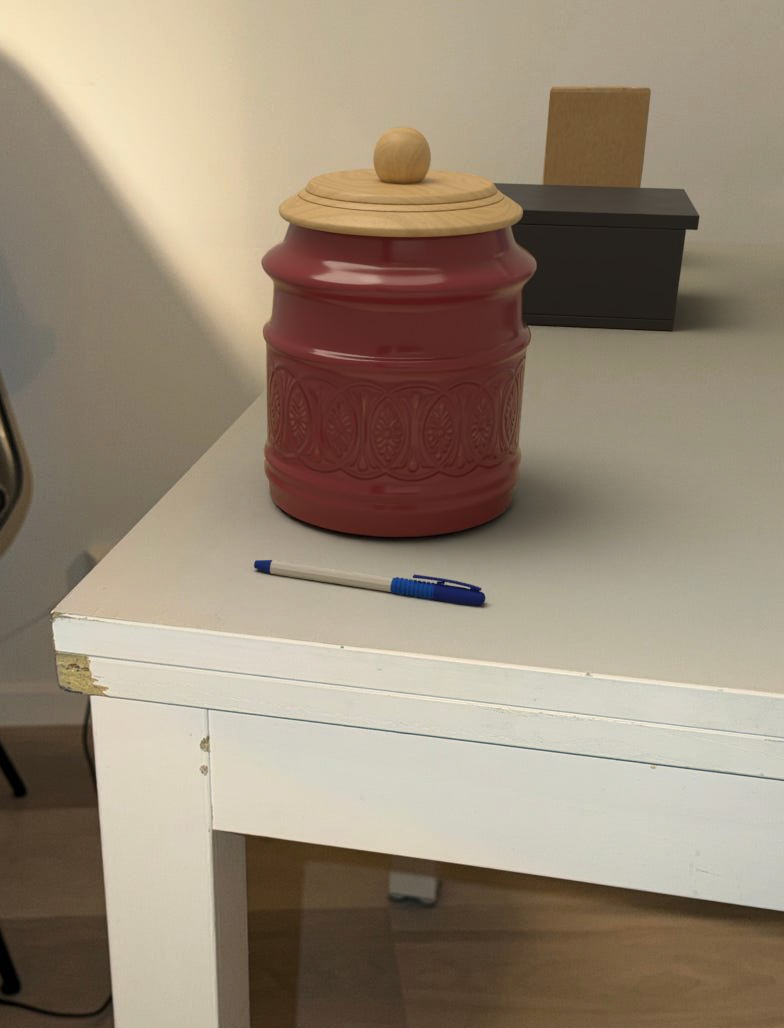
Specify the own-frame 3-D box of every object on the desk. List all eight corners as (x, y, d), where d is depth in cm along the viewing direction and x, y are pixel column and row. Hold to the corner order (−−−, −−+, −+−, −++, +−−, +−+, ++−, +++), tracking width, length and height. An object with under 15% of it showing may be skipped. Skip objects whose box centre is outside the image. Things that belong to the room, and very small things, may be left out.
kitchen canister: (247, 459, 72) (240, 114, 64) (474, 445, 74) (496, 110, 66) (287, 552, 60) (285, 148, 52) (554, 533, 62) (592, 141, 54)
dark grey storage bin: (660, 293, 108) (672, 201, 105) (672, 331, 97) (686, 229, 94) (483, 286, 110) (488, 196, 107) (475, 322, 99) (481, 223, 96)
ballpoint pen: (487, 601, 56) (488, 580, 56) (482, 610, 55) (484, 588, 55) (257, 569, 59) (257, 548, 59) (250, 577, 58) (250, 556, 58)
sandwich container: (625, 236, 130) (643, 73, 123) (632, 268, 117) (653, 87, 110) (538, 233, 132) (551, 71, 125) (535, 264, 118) (550, 85, 111)
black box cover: (682, 202, 105) (684, 188, 104) (697, 230, 94) (699, 215, 93) (488, 195, 107) (489, 182, 106) (481, 222, 96) (482, 208, 95)
